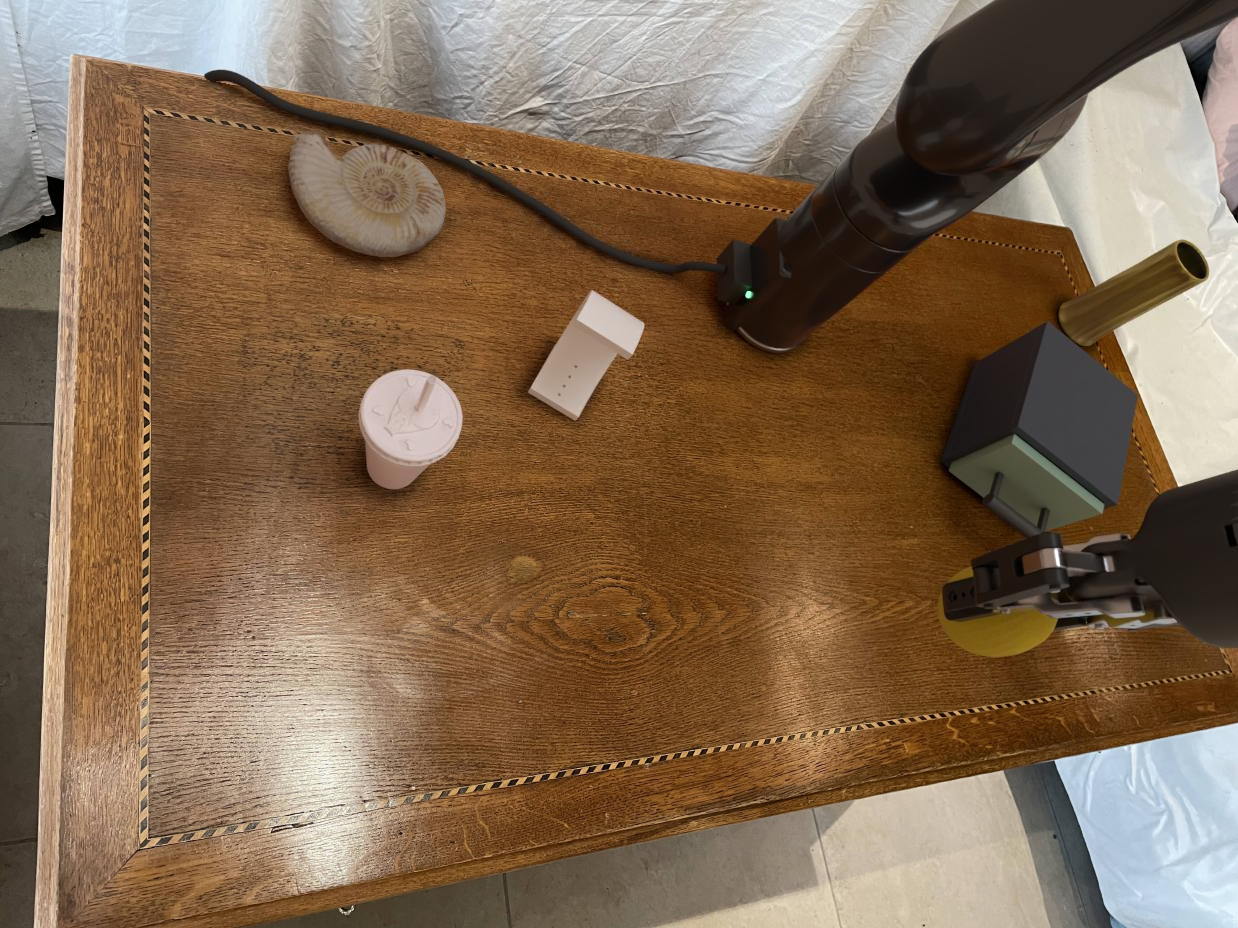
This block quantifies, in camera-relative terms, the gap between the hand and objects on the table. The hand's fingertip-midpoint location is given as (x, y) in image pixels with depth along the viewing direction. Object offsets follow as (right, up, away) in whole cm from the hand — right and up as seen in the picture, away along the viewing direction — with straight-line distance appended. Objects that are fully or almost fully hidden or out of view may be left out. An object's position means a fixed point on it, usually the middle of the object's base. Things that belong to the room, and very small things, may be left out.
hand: (988, 609), depth 47 cm
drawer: (+17, +8, +34) cm, 39 cm away
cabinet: (+19, +11, +37) cm, 43 cm away
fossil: (-43, +30, +17) cm, 55 cm away
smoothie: (-39, +9, +11) cm, 41 cm away
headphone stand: (-27, +16, +19) cm, 36 cm away
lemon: (-1, -1, +3) cm, 4 cm away
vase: (+34, +26, +50) cm, 65 cm away
